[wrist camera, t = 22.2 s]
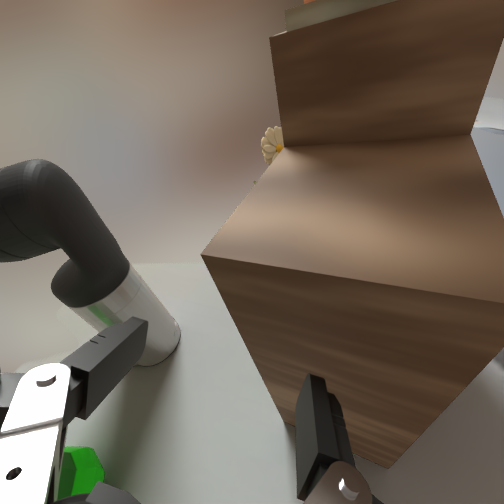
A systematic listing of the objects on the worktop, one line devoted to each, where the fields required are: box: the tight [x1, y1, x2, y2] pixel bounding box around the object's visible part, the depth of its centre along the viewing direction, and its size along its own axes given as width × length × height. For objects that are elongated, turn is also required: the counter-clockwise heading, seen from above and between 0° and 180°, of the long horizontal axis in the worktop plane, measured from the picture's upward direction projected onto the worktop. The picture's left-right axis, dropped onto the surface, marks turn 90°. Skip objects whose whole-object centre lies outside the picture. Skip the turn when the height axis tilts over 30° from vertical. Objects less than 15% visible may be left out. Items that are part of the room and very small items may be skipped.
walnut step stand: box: [201, 0, 504, 469], centre depth 24 cm, size 25×12×38 cm, turn 156°
